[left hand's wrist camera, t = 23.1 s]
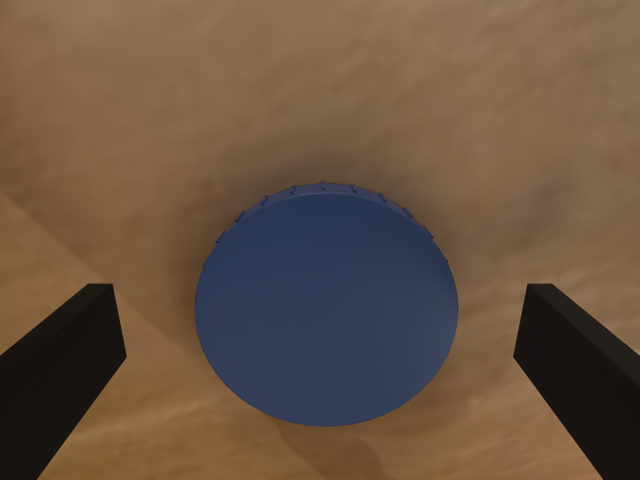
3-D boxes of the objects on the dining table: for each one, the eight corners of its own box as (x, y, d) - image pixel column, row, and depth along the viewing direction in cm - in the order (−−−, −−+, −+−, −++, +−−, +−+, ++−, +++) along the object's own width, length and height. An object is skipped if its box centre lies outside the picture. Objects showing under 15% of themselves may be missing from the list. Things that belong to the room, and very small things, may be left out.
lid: (163, 233, 15) (144, 249, 14) (405, 142, 14) (416, 146, 12) (263, 423, 18) (257, 454, 16) (472, 360, 17) (487, 386, 15)
